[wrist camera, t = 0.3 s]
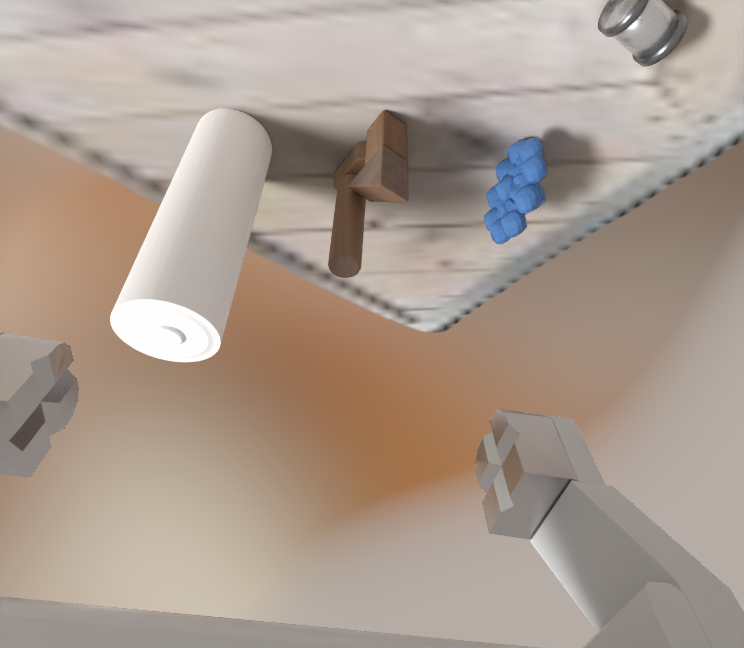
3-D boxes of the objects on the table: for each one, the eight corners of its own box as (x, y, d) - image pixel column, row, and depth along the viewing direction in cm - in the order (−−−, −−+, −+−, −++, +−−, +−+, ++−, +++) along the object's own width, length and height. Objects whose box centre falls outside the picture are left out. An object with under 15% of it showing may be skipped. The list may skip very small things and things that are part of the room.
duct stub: (592, 18, 49) (605, 41, 46) (637, -32, 46) (653, -11, 43) (631, 52, 52) (646, 75, 48) (676, 6, 48) (695, 28, 45)
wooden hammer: (408, 125, 59) (409, 226, 48) (357, 184, 66) (348, 284, 55) (383, 107, 57) (379, 208, 46) (334, 170, 64) (320, 270, 54)
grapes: (513, 205, 68) (526, 268, 61) (468, 192, 66) (476, 255, 59) (564, 132, 59) (587, 196, 52) (514, 115, 57) (530, 178, 50)
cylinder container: (281, 129, 60) (229, 325, 42) (260, 186, 67) (208, 375, 49) (203, 94, 57) (110, 290, 39) (189, 158, 64) (105, 349, 46)
